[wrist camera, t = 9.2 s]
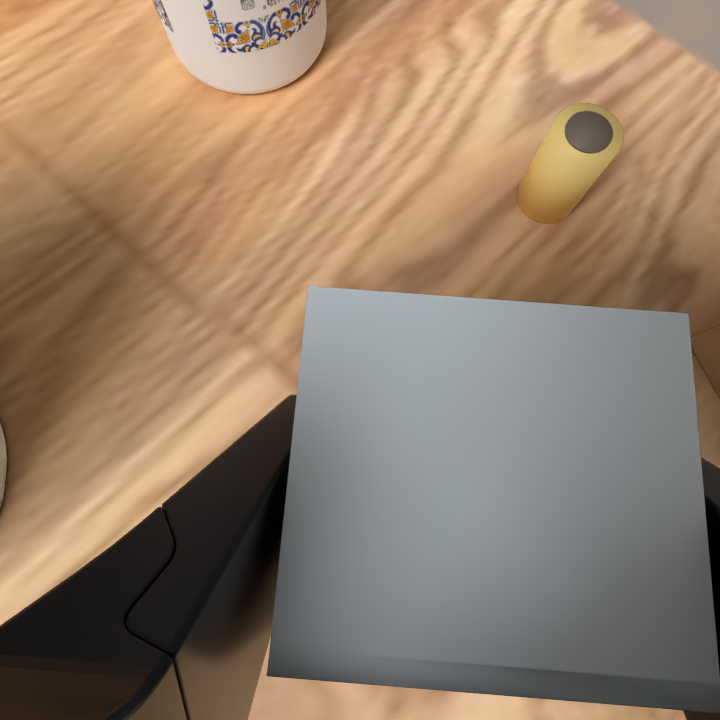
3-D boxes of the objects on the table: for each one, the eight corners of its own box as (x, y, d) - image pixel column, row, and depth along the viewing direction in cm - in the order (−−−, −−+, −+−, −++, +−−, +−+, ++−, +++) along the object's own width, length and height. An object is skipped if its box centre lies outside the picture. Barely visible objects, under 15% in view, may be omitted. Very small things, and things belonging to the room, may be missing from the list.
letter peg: (575, 225, 21) (626, 164, 17) (516, 221, 21) (554, 159, 17) (573, 173, 22) (623, 103, 18) (516, 169, 22) (553, 98, 18)
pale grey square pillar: (503, 577, 15) (723, 712, 6) (321, 563, 15) (266, 676, 6) (504, 410, 16) (688, 313, 7) (335, 397, 16) (308, 285, 7)
